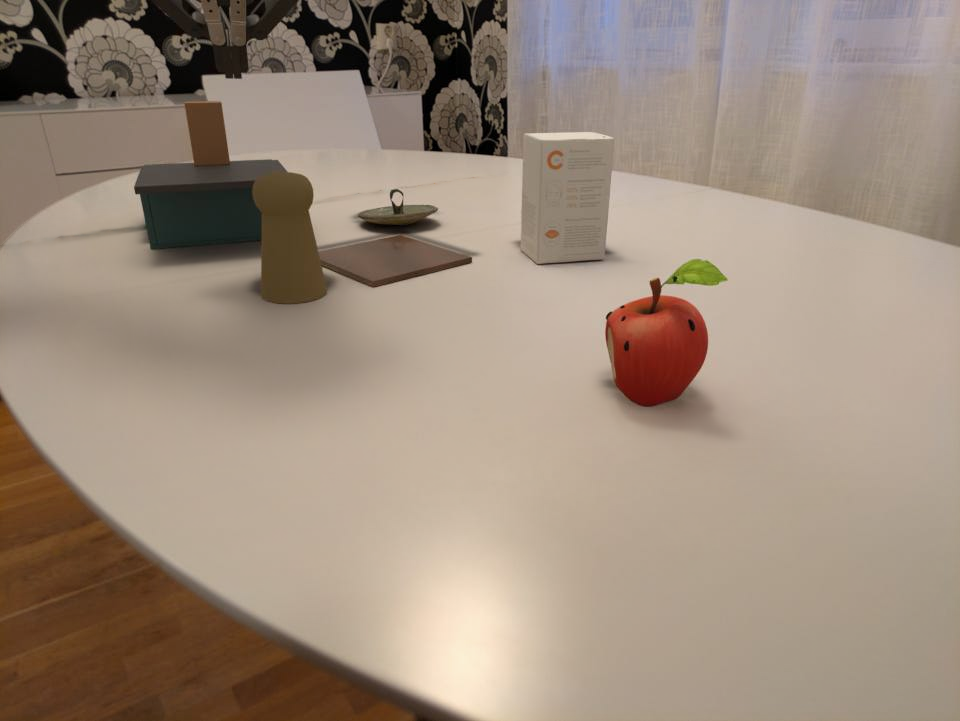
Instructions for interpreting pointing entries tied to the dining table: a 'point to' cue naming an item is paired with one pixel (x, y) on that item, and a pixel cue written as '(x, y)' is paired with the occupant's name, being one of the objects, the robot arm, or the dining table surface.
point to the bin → (201, 217)
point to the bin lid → (204, 159)
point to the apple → (660, 339)
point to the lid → (397, 213)
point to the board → (389, 259)
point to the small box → (565, 196)
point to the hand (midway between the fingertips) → (232, 72)
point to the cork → (288, 239)
